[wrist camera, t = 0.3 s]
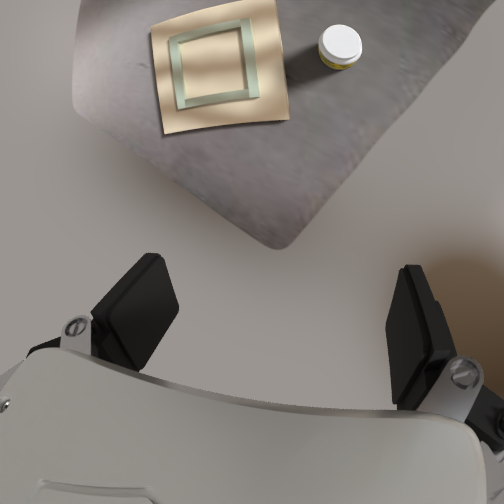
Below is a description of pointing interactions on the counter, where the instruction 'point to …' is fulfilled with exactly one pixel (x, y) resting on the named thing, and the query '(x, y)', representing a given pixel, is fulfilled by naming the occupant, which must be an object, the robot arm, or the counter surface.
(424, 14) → the counter surface
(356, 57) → the supplement bottle
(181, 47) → the board
